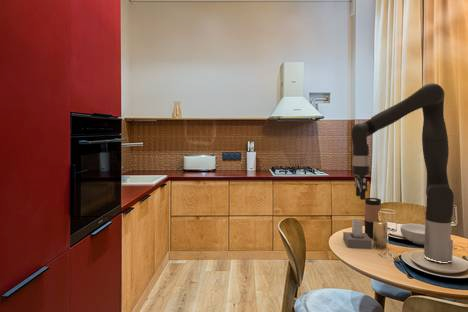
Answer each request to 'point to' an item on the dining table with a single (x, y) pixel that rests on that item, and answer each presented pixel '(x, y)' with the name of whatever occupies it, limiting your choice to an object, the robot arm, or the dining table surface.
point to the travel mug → (371, 214)
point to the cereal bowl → (414, 233)
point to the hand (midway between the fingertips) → (360, 197)
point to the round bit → (380, 234)
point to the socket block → (357, 241)
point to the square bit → (357, 228)
